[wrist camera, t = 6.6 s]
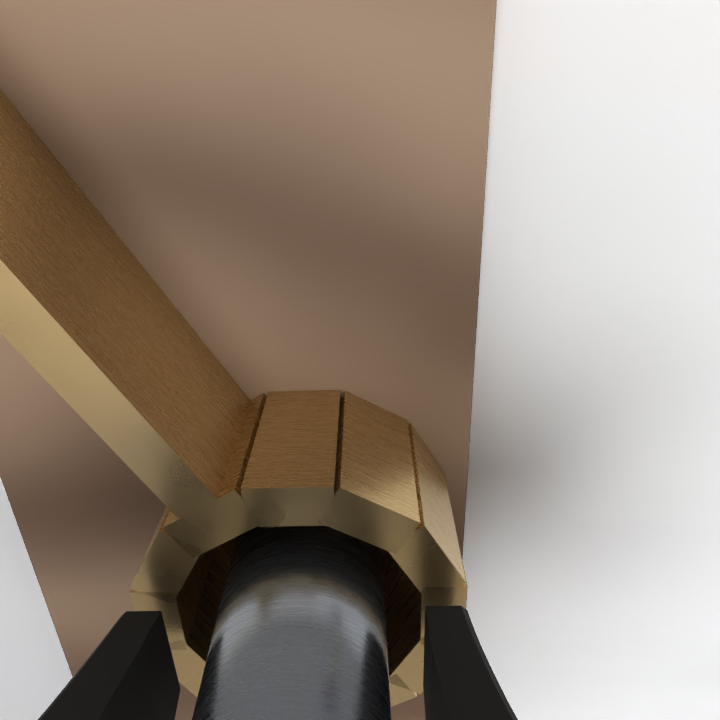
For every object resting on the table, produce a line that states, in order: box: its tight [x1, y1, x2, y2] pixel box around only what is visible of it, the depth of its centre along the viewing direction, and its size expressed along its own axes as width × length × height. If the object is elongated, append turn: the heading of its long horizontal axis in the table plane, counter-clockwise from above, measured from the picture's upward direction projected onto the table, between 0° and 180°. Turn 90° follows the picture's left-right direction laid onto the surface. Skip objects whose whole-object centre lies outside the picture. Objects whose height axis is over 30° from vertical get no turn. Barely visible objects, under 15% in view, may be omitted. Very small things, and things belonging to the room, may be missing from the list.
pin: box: [192, 526, 392, 720], centre depth 11 cm, size 3×3×7 cm
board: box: [0, 0, 497, 720], centre depth 15 cm, size 23×10×1 cm, turn 2°
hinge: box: [0, 89, 467, 707], centre depth 13 cm, size 21×9×3 cm, turn 2°
